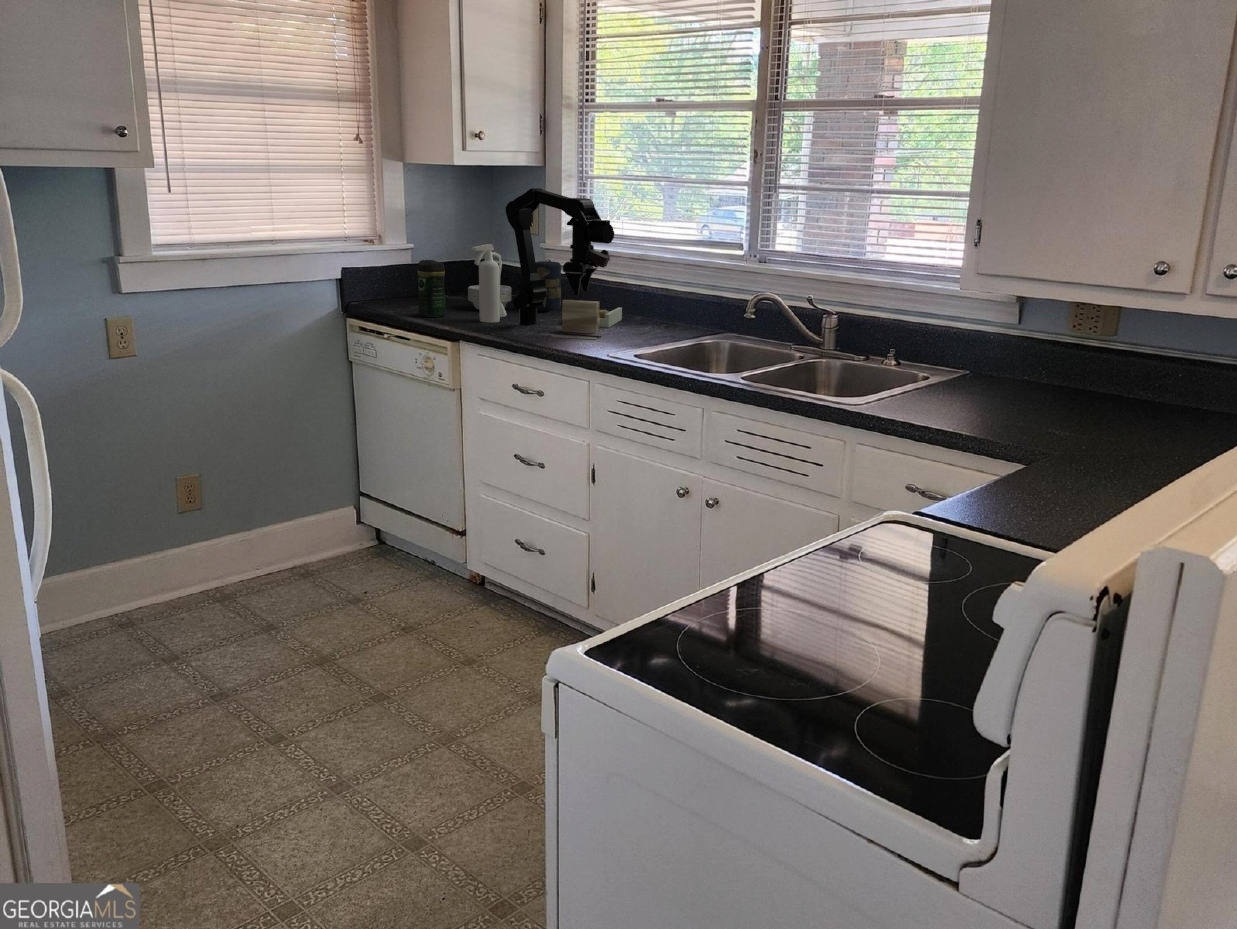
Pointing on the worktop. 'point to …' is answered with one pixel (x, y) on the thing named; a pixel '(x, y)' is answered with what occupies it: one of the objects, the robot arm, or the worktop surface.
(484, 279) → the fire extinguisher
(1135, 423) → the worktop surface
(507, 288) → the paper bowls
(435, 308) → the coffee jar
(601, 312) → the offcut stack
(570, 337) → the grey mat
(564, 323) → the tan wooden block
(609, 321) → the rack
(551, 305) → the canister
